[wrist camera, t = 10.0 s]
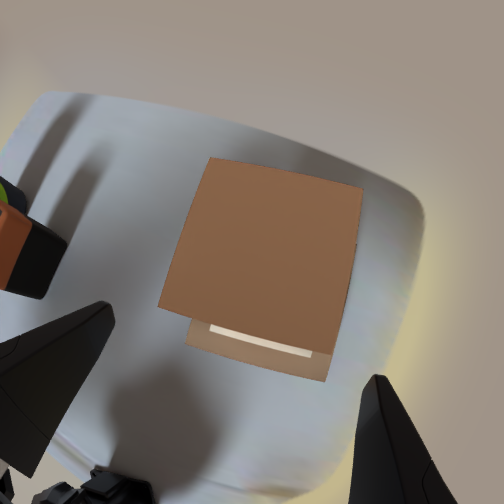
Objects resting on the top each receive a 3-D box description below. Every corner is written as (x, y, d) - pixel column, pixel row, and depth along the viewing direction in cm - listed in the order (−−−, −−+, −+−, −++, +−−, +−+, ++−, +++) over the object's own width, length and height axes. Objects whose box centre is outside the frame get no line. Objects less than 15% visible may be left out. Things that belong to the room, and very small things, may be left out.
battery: (70, 243, 25) (0, 204, 15) (43, 302, 23) (-32, 282, 14) (49, 227, 26) (-15, 189, 16) (24, 281, 24) (-44, 258, 15)
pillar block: (302, 343, 17) (331, 355, 7) (222, 322, 18) (157, 307, 8) (321, 265, 18) (363, 188, 8) (244, 246, 19) (209, 157, 9)
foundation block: (316, 373, 20) (325, 382, 16) (201, 342, 21) (184, 343, 17) (344, 259, 22) (357, 243, 18) (233, 232, 23) (224, 212, 20)
